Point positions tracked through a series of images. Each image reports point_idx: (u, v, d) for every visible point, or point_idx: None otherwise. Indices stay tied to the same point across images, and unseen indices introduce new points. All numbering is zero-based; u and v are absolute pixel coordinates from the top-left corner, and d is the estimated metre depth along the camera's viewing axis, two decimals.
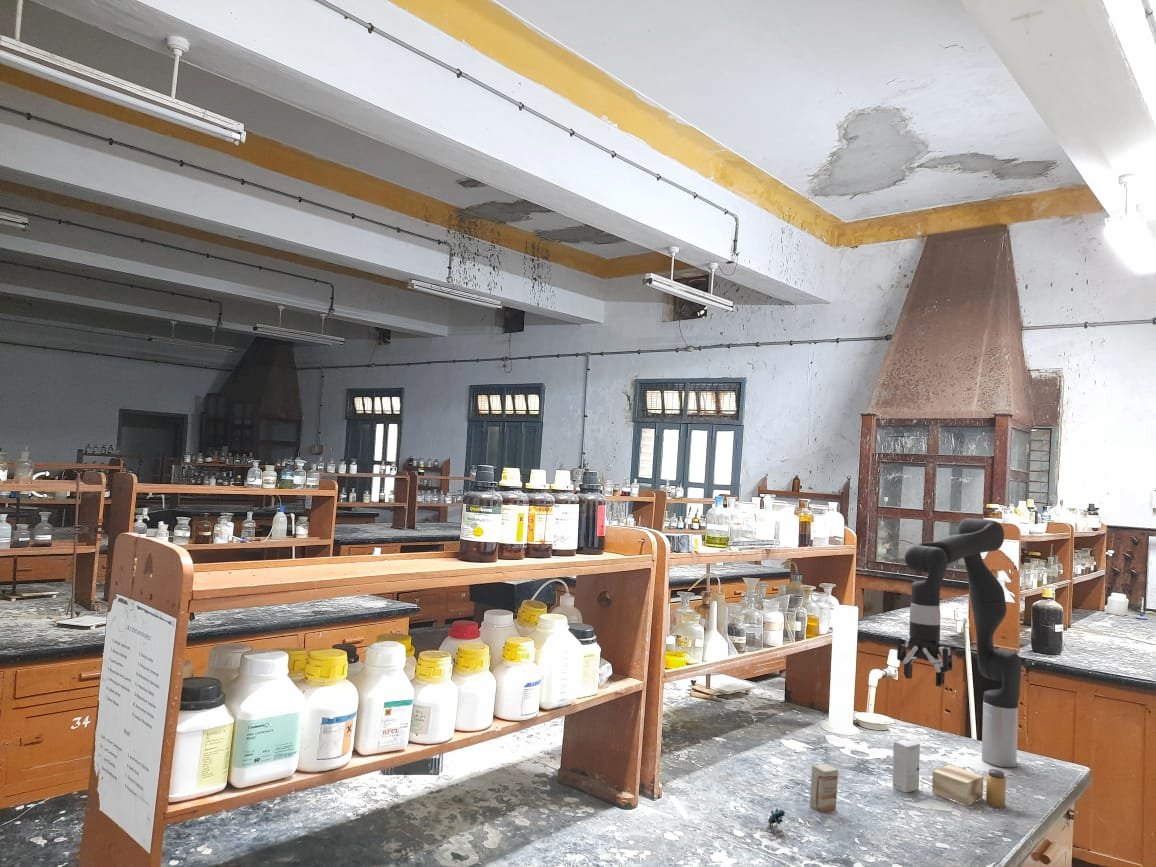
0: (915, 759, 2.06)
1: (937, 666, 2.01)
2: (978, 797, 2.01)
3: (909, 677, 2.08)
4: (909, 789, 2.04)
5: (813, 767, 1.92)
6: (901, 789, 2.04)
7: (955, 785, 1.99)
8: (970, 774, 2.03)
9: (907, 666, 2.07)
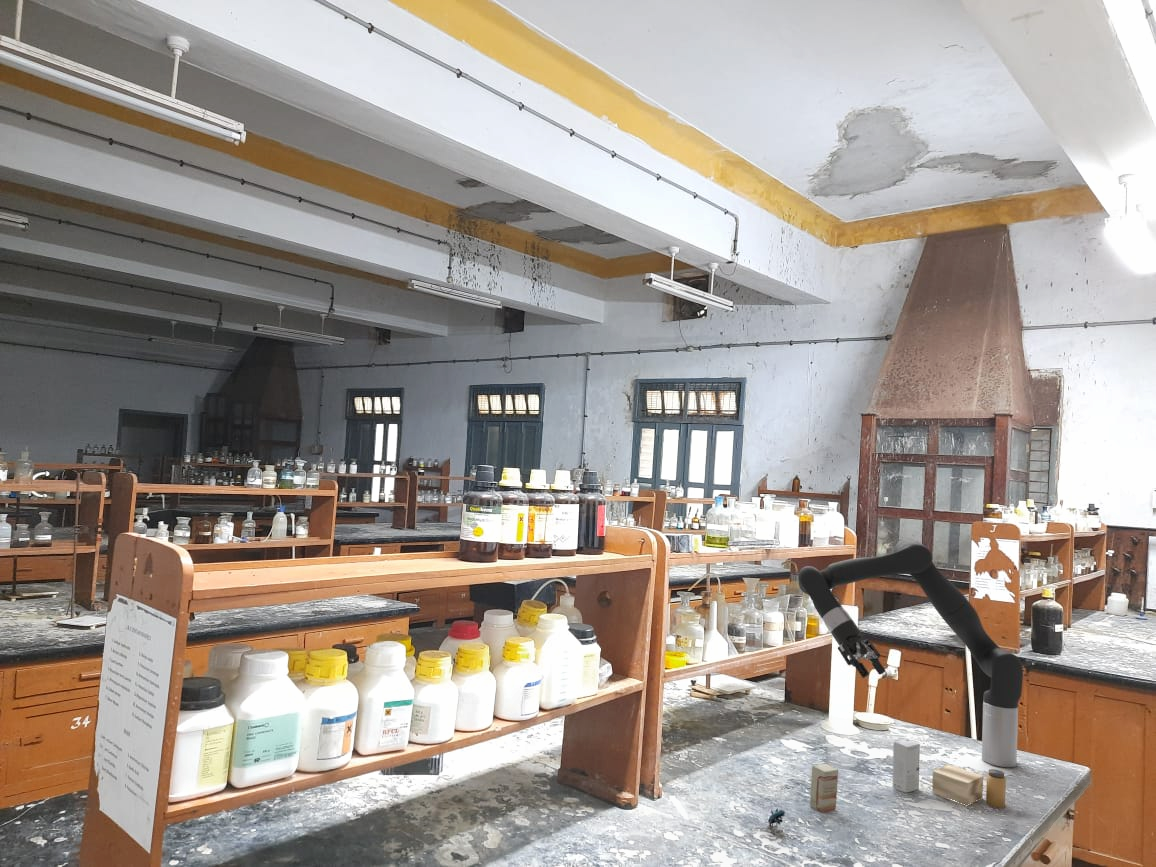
0: (915, 759, 2.06)
1: None
2: (978, 797, 2.01)
3: (880, 672, 2.21)
4: (909, 789, 2.04)
5: (813, 767, 1.92)
6: (901, 789, 2.04)
7: (956, 785, 1.99)
8: (970, 774, 2.04)
9: (872, 664, 2.24)
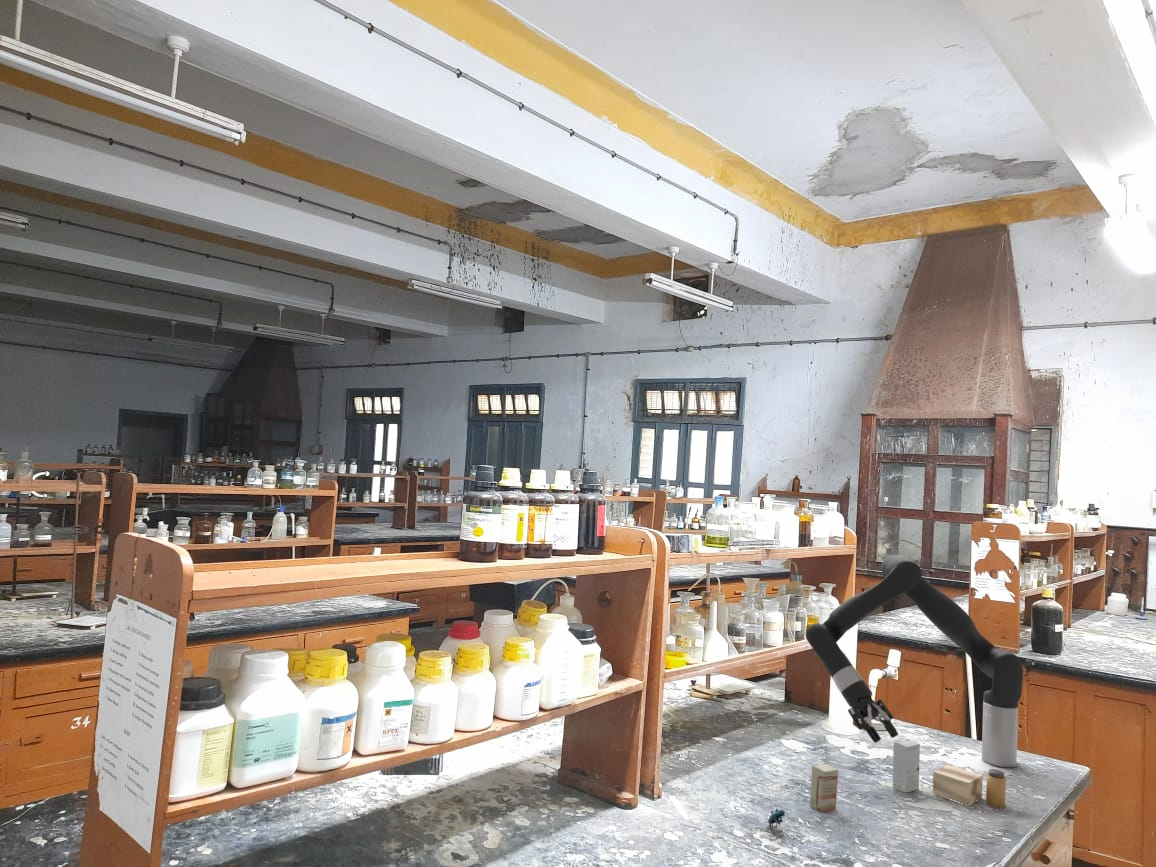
0: (915, 759, 2.06)
1: None
2: (978, 796, 2.01)
3: (893, 735, 2.14)
4: (909, 789, 2.04)
5: (813, 767, 1.92)
6: (901, 789, 2.04)
7: (957, 786, 1.99)
8: (970, 773, 2.04)
9: (885, 727, 2.17)
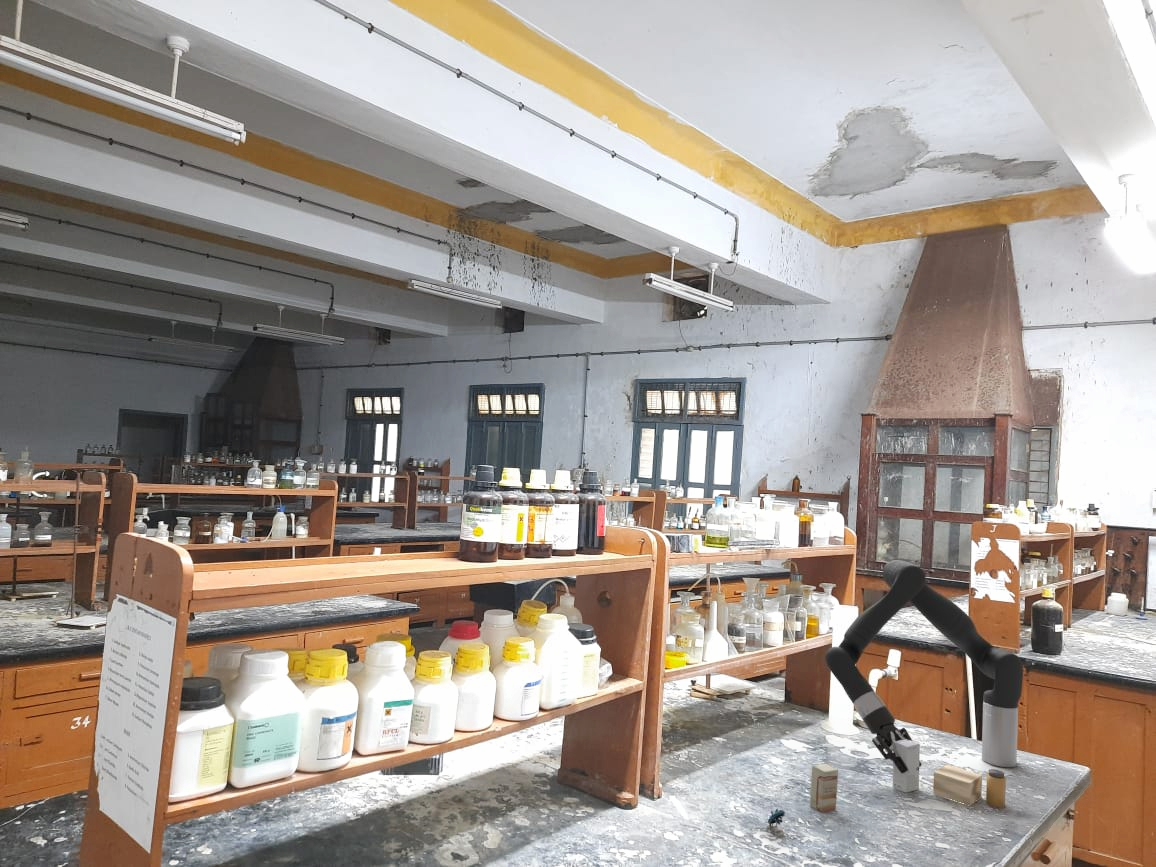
0: (915, 759, 2.06)
1: None
2: (978, 796, 2.01)
3: None
4: (909, 789, 2.04)
5: (813, 767, 1.92)
6: (901, 789, 2.04)
7: (958, 786, 1.99)
8: (970, 773, 2.04)
9: None
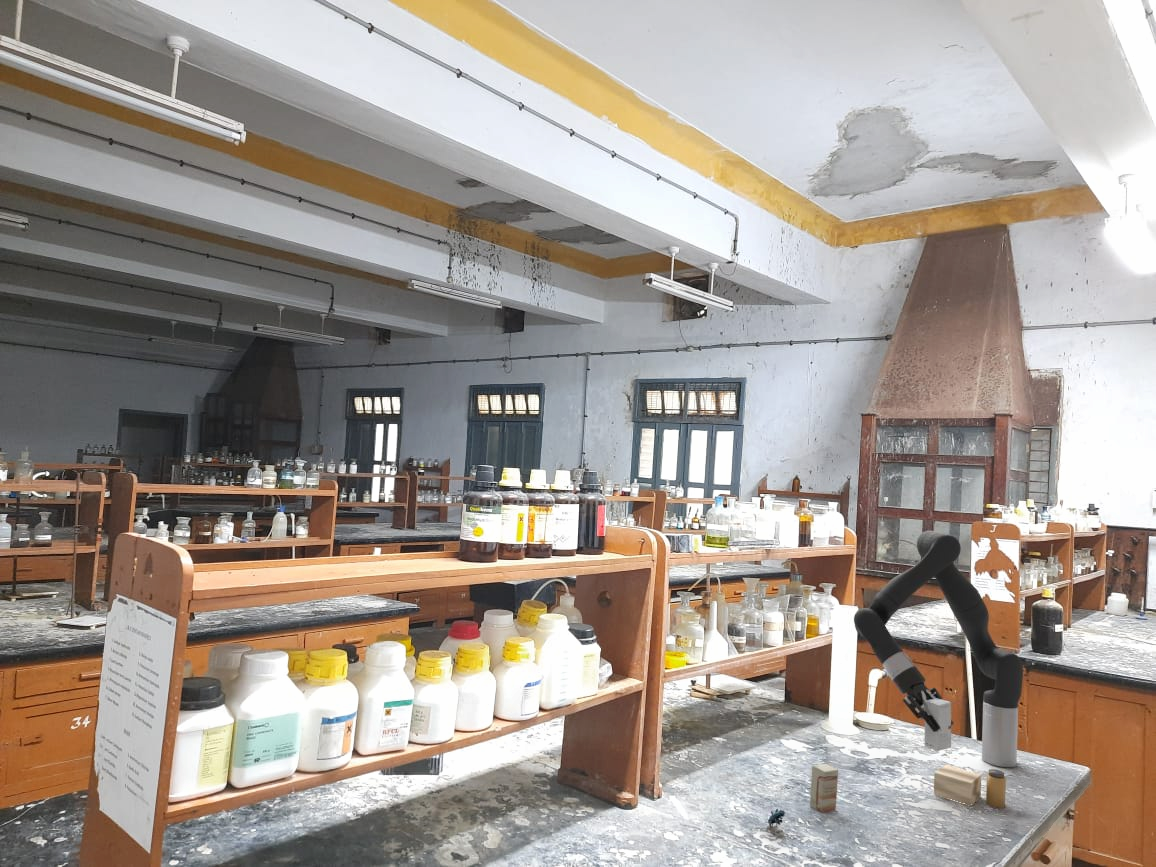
0: (946, 718, 2.05)
1: None
2: (978, 796, 2.02)
3: None
4: (941, 747, 2.03)
5: (813, 767, 1.92)
6: (933, 747, 2.03)
7: (959, 786, 1.99)
8: (969, 773, 2.04)
9: None
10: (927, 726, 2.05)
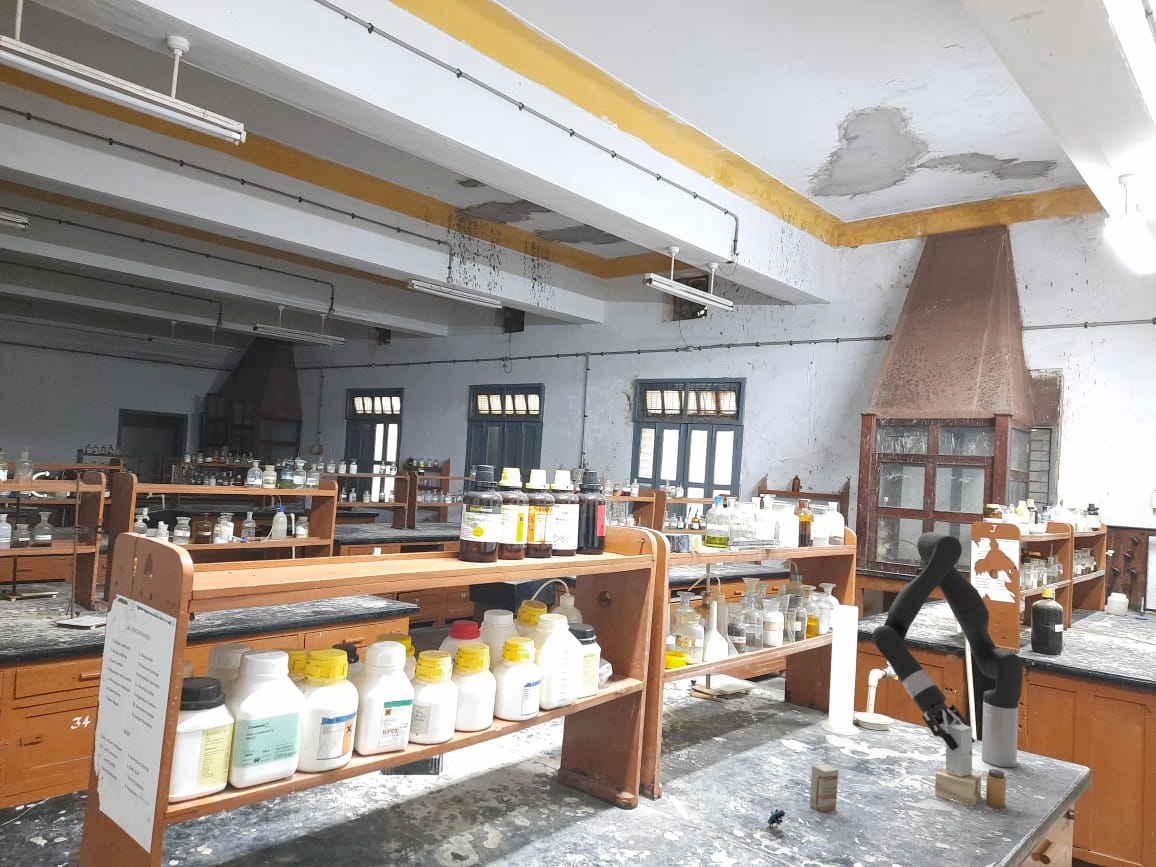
0: (968, 743, 2.03)
1: None
2: (978, 796, 2.02)
3: None
4: (963, 773, 2.01)
5: (813, 767, 1.92)
6: (955, 773, 2.01)
7: (960, 787, 1.99)
8: None
9: None
10: (949, 751, 2.03)
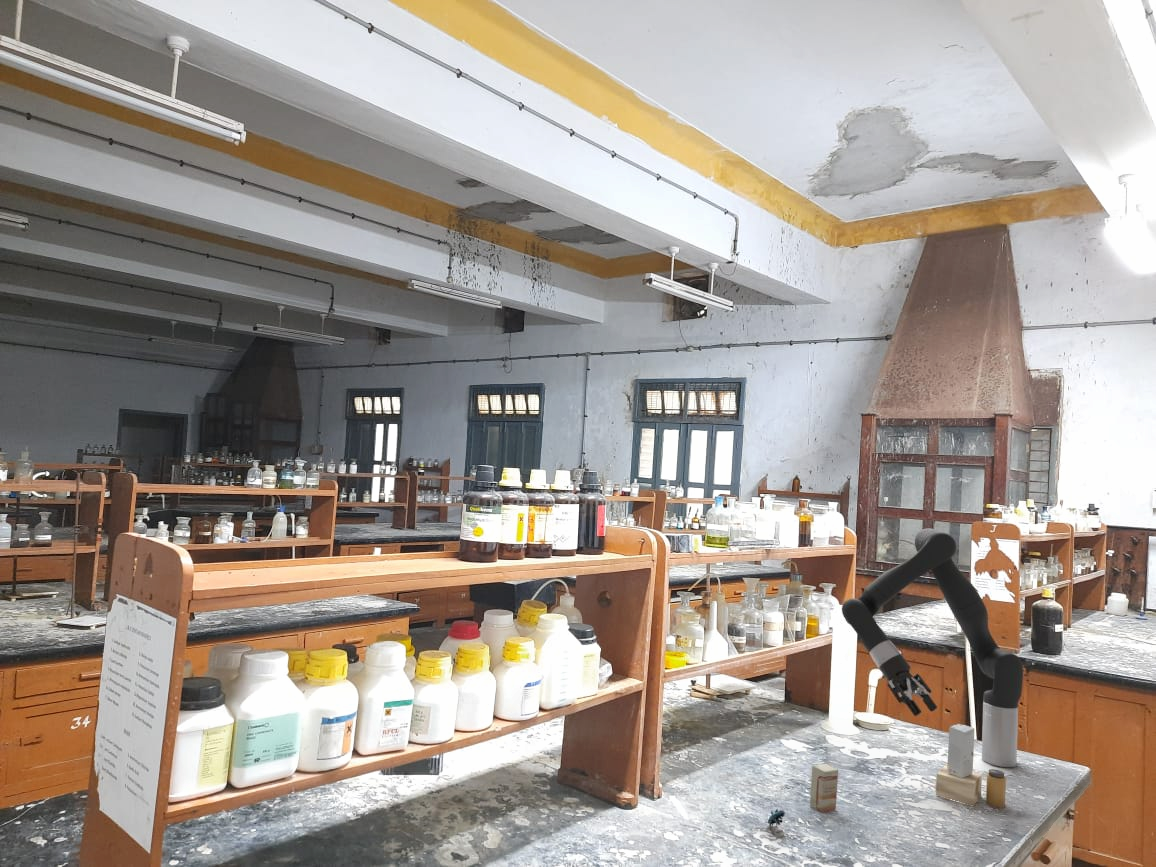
0: (970, 744, 2.03)
1: None
2: (979, 796, 2.02)
3: (932, 709, 2.14)
4: (965, 774, 2.01)
5: (813, 767, 1.92)
6: (957, 774, 2.01)
7: (961, 787, 1.99)
8: None
9: (923, 701, 2.16)
10: (951, 752, 2.03)
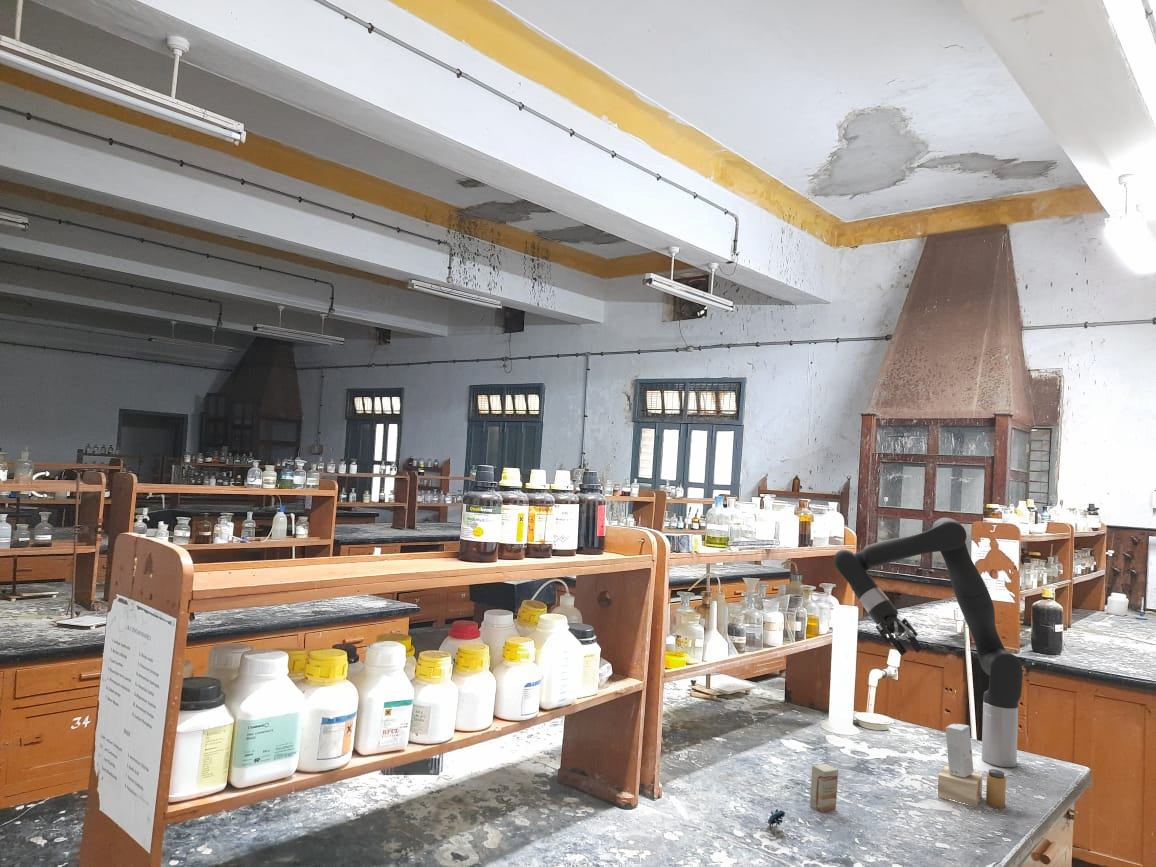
0: (968, 742, 2.03)
1: None
2: (980, 796, 2.02)
3: (918, 650, 2.28)
4: (967, 773, 2.01)
5: (813, 767, 1.92)
6: (959, 774, 2.01)
7: (964, 788, 1.98)
8: None
9: (910, 643, 2.30)
10: (950, 753, 2.03)
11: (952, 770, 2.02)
